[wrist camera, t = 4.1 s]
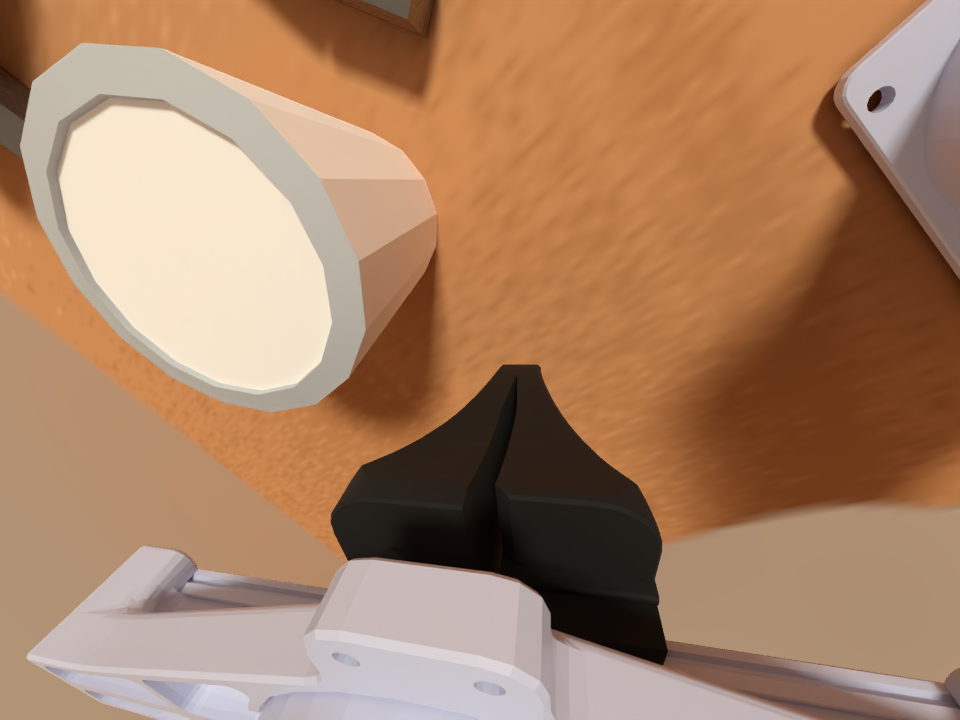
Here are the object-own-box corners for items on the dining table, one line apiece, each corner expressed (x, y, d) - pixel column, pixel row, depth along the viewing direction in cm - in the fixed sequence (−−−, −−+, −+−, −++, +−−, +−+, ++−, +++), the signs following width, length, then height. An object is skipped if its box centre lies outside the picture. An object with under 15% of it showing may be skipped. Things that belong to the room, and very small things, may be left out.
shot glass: (314, 312, 15) (158, 412, 9) (244, 123, 12) (-80, 82, 6) (466, 305, 13) (399, 419, 7) (436, 87, 10) (273, -18, 4)
